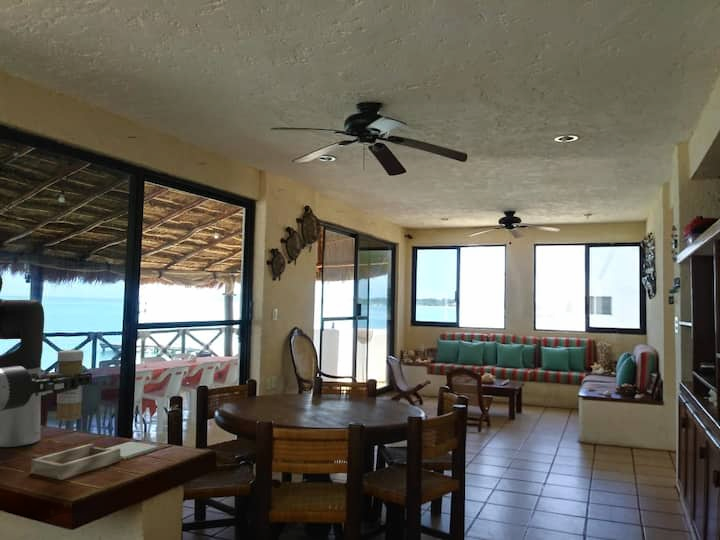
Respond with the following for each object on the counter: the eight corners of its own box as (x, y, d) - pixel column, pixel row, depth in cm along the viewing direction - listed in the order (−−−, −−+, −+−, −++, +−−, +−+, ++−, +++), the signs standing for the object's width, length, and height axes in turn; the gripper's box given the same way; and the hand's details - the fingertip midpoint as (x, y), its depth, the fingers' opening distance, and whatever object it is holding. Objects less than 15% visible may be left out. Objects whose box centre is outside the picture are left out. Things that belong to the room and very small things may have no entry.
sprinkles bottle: (53, 422, 110) (55, 352, 110) (58, 417, 114) (60, 349, 115) (79, 420, 111) (81, 351, 112) (83, 415, 115) (85, 349, 116)
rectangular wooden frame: (61, 479, 106) (61, 466, 106) (31, 472, 110) (31, 459, 110) (120, 461, 117) (120, 448, 117) (91, 455, 122) (91, 443, 122)
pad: (124, 459, 118) (124, 456, 118) (95, 454, 122) (95, 451, 122) (158, 448, 126) (158, 446, 126) (130, 444, 130) (130, 441, 130)
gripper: (19, 370, 97) (106, 360, 112) (-28, 366, 104) (60, 356, 119) (18, 415, 97) (105, 398, 112) (-29, 407, 104) (60, 393, 119)
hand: (82, 377), depth 115 cm, fingers closed on sprinkles bottle, 4 cm apart
